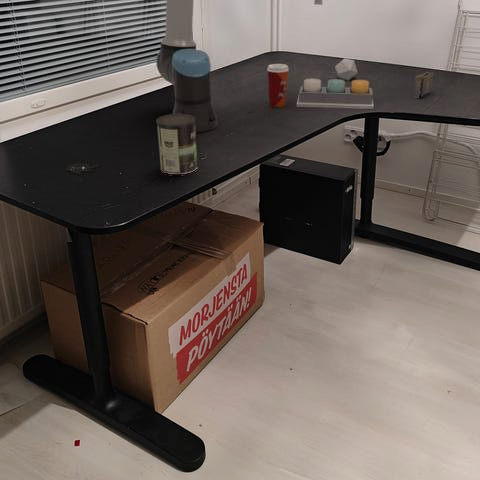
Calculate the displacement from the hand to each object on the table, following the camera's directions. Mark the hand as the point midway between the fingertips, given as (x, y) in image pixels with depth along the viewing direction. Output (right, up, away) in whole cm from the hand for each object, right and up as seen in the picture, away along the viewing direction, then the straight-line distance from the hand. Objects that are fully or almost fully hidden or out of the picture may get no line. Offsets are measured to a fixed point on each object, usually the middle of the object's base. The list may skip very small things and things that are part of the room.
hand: (318, 4), depth 213 cm
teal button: (+7, -31, +7) cm, 33 cm away
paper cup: (-14, -35, +6) cm, 38 cm away
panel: (+7, -33, +7) cm, 34 cm away
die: (+16, -17, +36) cm, 43 cm away
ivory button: (-1, -31, +8) cm, 32 cm away
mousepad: (-68, -64, -44) cm, 103 cm away
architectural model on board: (+41, -29, +15) cm, 52 cm away
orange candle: (+15, -32, +5) cm, 36 cm away
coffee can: (-44, -63, -45) cm, 90 cm away
